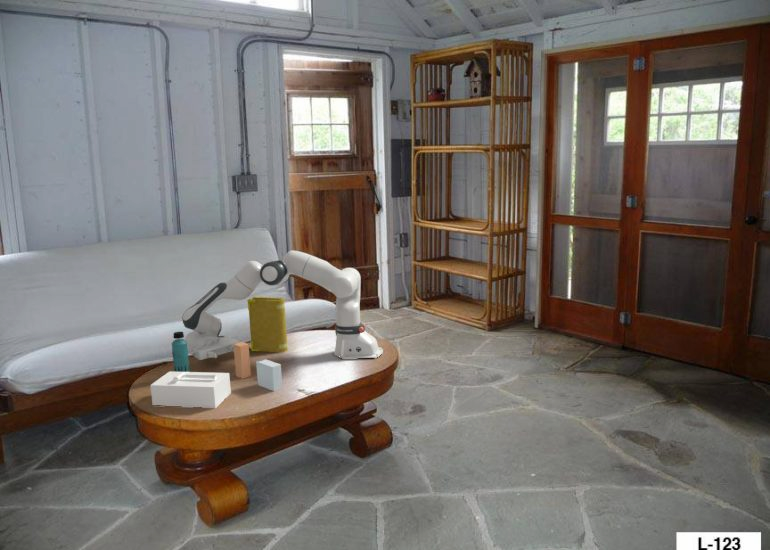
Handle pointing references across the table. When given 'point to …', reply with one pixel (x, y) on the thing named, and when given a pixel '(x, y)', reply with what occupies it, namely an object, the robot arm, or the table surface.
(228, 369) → the table surface
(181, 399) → the tissue box
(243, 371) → the block
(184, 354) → the beverage bottle
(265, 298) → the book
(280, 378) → the pale gray chunky brick
